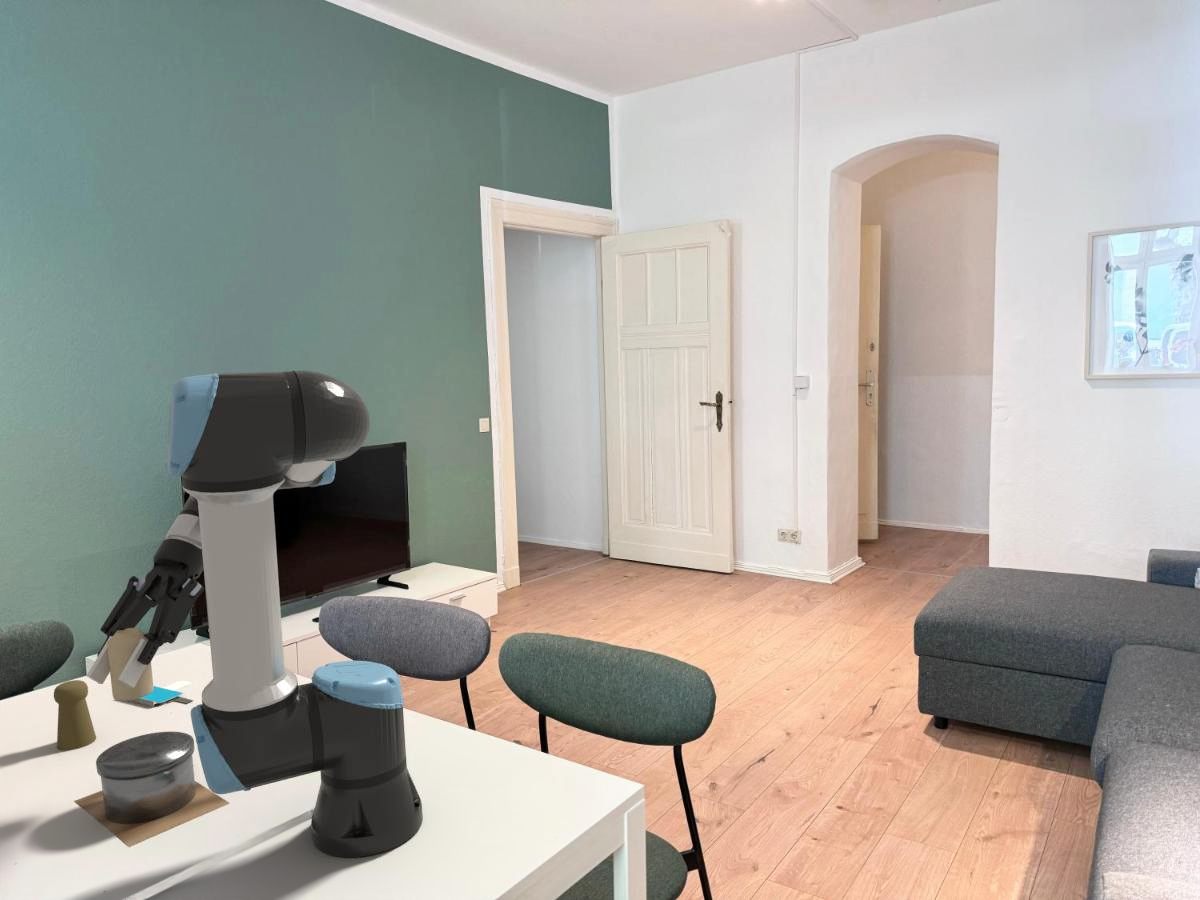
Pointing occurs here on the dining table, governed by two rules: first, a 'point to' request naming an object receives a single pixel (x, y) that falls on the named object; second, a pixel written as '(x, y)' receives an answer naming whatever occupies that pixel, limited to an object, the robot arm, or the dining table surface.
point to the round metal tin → (147, 777)
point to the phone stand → (163, 695)
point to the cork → (73, 716)
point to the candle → (119, 655)
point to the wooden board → (143, 831)
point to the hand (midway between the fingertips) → (110, 681)
